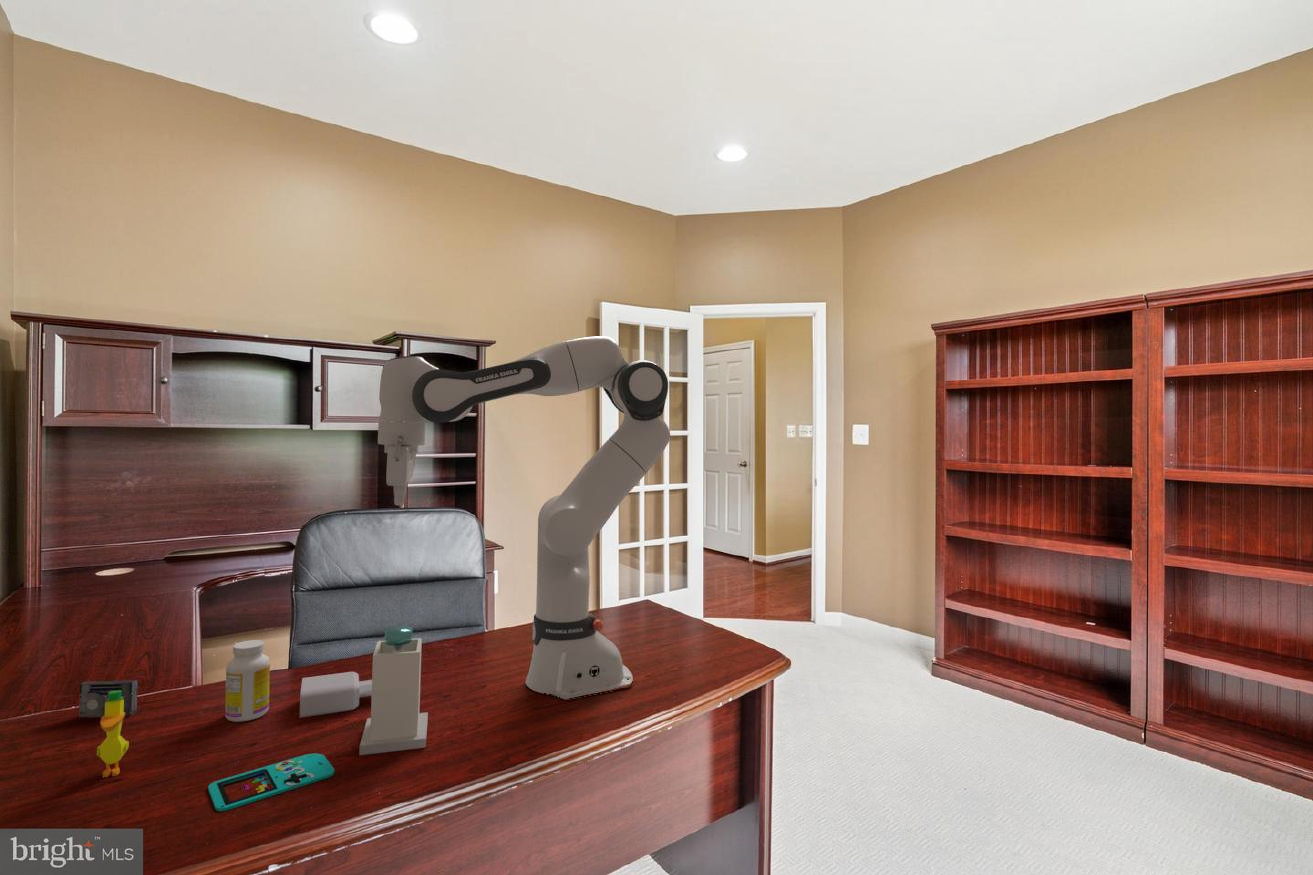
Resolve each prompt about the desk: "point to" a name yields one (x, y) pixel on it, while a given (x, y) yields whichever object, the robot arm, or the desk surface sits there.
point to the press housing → (395, 701)
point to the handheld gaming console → (274, 779)
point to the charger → (332, 693)
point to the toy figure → (113, 733)
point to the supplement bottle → (247, 682)
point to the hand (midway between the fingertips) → (399, 504)
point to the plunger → (398, 637)
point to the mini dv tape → (106, 697)
